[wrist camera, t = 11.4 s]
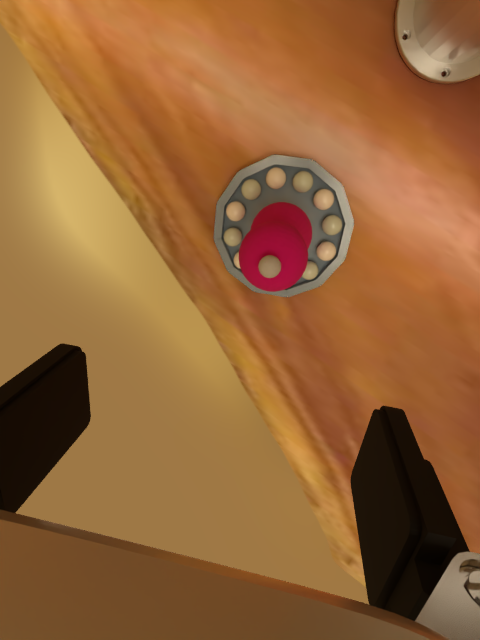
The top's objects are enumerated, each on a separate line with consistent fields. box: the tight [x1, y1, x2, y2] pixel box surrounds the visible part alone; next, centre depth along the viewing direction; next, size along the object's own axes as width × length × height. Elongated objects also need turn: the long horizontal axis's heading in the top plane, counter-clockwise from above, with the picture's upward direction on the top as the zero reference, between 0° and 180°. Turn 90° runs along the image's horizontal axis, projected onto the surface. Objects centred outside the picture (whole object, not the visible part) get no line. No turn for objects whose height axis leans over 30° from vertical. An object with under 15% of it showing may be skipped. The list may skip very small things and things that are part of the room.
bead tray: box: [214, 155, 354, 297], centre depth 44 cm, size 17×17×4 cm
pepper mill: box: [239, 202, 312, 292], centre depth 35 cm, size 7×7×20 cm
